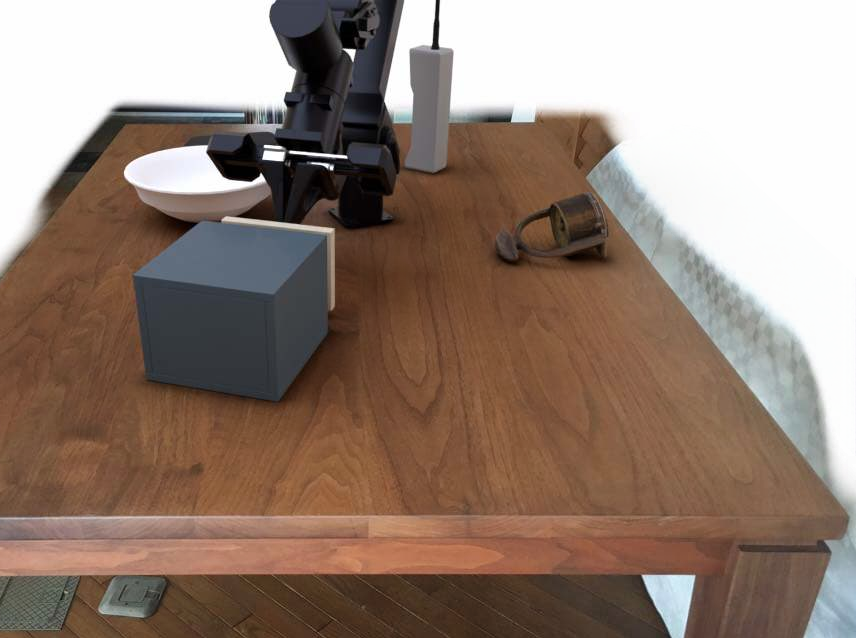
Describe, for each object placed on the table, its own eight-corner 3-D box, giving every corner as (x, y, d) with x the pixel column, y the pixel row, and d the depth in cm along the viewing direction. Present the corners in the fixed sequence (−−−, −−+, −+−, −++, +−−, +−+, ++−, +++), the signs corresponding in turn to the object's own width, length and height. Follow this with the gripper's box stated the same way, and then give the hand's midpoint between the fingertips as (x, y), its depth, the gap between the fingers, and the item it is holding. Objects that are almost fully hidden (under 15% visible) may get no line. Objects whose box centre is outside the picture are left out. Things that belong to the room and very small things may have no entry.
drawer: (245, 277, 97) (241, 203, 93) (346, 291, 94) (346, 214, 90) (177, 346, 84) (168, 262, 79) (292, 363, 81) (289, 278, 76)
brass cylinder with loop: (621, 230, 96) (620, 182, 103) (501, 212, 98) (508, 165, 105) (603, 284, 101) (604, 235, 108) (490, 266, 103) (497, 218, 110)
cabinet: (209, 315, 91) (202, 220, 86) (328, 333, 88) (327, 234, 83) (145, 379, 80) (132, 274, 75) (278, 402, 77) (273, 294, 72)
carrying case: (191, 174, 131) (290, 167, 134) (189, 153, 129) (290, 146, 132) (183, 154, 140) (277, 147, 143) (182, 134, 138) (276, 128, 141)
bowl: (147, 190, 125) (142, 144, 122) (290, 191, 124) (288, 145, 121) (113, 243, 108) (106, 191, 105) (278, 244, 107) (276, 192, 104)
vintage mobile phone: (417, 162, 136) (426, -20, 123) (446, 168, 133) (458, -18, 120) (404, 168, 133) (411, -18, 120) (433, 174, 131) (444, -15, 118)
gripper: (416, 149, 98) (386, 282, 94) (256, 135, 103) (223, 261, 99) (401, 89, 87) (367, 237, 84) (223, 77, 92) (185, 216, 89)
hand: (282, 240), depth 89 cm, fingers closed, pressing on drawer
